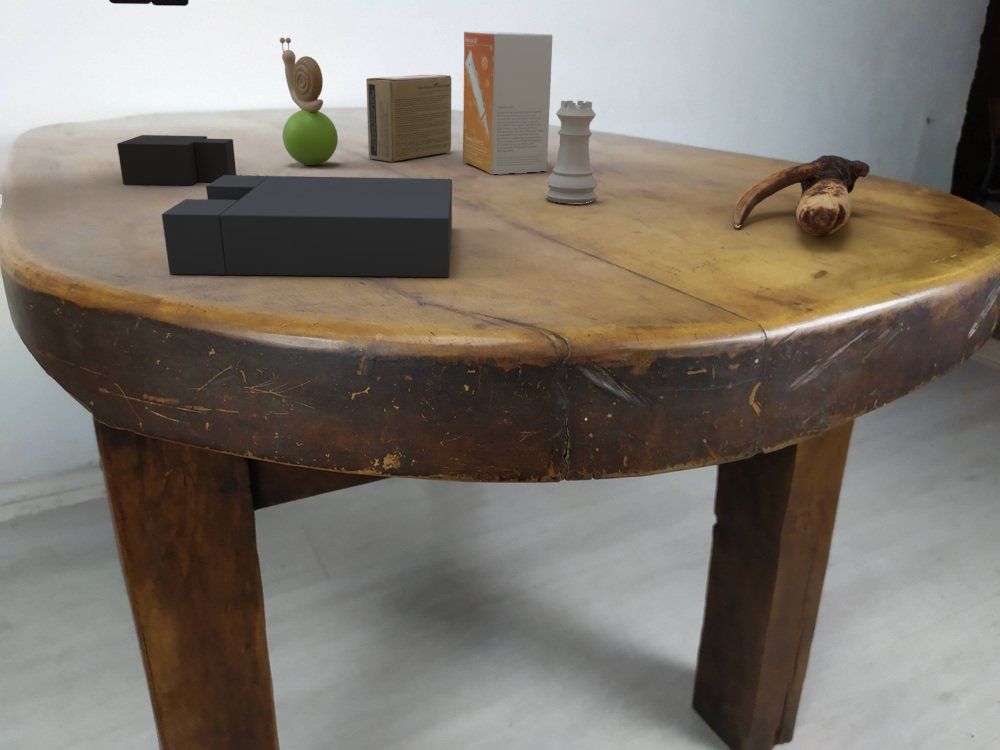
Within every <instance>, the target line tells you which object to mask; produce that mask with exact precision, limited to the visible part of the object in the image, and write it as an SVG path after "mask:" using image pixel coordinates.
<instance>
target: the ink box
mask: <svg viewBox="0 0 1000 750" xmlns="http://www.w3.org/2000/svg"><path fill="white" fill-rule="evenodd" d="M365 81H366V110H367V142H368V143H367V145H368V158H369V159H371V160H376V161H383V162H388V163H394V162H398V161H405V160H411V159H416V158H421V157H427V156H433V155H439V154H445V153H447V154H448V153H450V152H451V149H452V77H451V75H450V74H449V75H447V74H416V75H398V76H384V77H383V76H381V77H367V78H366V79H365Z"/></svg>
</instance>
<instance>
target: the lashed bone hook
mask: <svg viewBox="0 0 1000 750" xmlns="http://www.w3.org/2000/svg"><path fill="white" fill-rule="evenodd" d="M870 168H871V167H870V166H869V164H868V163H867V162H864V161H861V160H858V159H857V160H850V159H847V158H844V157H842V156H839V155H833V154H832V155H831V154H830V155H826V154H825V155H821V156H820V157H817V158H816V159H814V160H812V161H811V162H806V163H801V164H800V165H796V166H790V167H788V168H786V169H782V170H779V171H776V172H774V173H771V174H770V175H768V176H766V177H764V178H762V179H761V180H759V181H758V182H756V183H754V184H753V185H752V186H750V187H749V188H747V190H745V192H743V193H742V195H741V196H740V197H739V198H738V199H737V202H736V203H735V205H734V209H733V211H732V221H733V225H734V224H735V225H737V226H739V225H742V224H743V225H744V223H745V222H746V221H747V218H748V217H749V216H750V214H751V212H752V211H753V210H754V209H755V207H756V206H758V205H759V204H760V203H761V202H763V201H764V200H766V199H767V198H769V197H771V196H773V195H774V194H776V193H778V192H780V191H782V190H784V189H786V188H788V187H791V186H794V185H797V184H800V187H801V195H800V198H799V200H798V202H797V205H796V206H795V209H794V213H795V219H796V220H797V222H798V224H799V226H800V227H801V228H802V230H803V231H804V232H806V233H807V234H809V235H812V236H813V235H814V236H817V237H827V236H830V235H831V234H833V233H835V232H836V231H837V230H839V229H841V228H842V227H843V226H844V225H846V224H847V223H848V222H849V219H850V216H851V213H852V205H853V204H852V199H851V196H850V194H851V193H852V191H853V190H854V188H855V185H856V183H857V180H858V179H859V178H861V177H862V178H866V176H868V175H869V173H870ZM743 225H742V226H743Z"/></svg>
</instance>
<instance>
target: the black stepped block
mask: <svg viewBox="0 0 1000 750" xmlns="http://www.w3.org/2000/svg"><path fill="white" fill-rule="evenodd" d="M116 145H117V146H116V147H117V152H118V159H119V165H120V172H121V179H122V185H134V186H135V185H140V186H143V185H145V186H146V185H148V186H193V185H195V184H197V183H212V182H214V181H215V180H217V179H218V178H220V177H222V176H223V175H237V167H236V157H235V146H234V139H233V138H208V136H206V135H168V134H167V135H163V134H158V135H157V134H141V135H137V136H135V137H132V138H129V139H126V140H124V141H121V142H117V144H116Z"/></svg>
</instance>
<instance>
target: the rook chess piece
mask: <svg viewBox="0 0 1000 750" xmlns="http://www.w3.org/2000/svg"><path fill="white" fill-rule="evenodd" d="M555 114H556V116H557V118H558V120H559V121H560V129H559V130H558V131H557V133H558V135H559V147H558V150H557V151H558V152H557V157H556V158H557V159H556V162H555V165H554V168H552V173H551V174H550V175H549V176H548V177H547V180H546V185H547V187H548V188H549V189H548V190H547V191H546V192H545V193H544V194H545V196H546V197H547V199H548V201H550V200H551V201H550V202H552V201H553V202H552V203H555V202H560V203H586V202H590V201H593V200H594V201H595V200H596V199H597V197H598V194H597V193H596V192H595V191H594V190H595V189H596V188H597V187H598V180H597V179H596V178H595V177H594V175H593V173H594V171H593V170H592V166H591V159H590V147H589V145H590V137H591V136H592V135H593V133H592V132H591V130H590V129H591V128H590V125H591V123H592V122H593V120H594V118H595V117H596V116H597V115H596V113H595V111H594V109H593V102H592V101H589V100H588V101H587V100H586V101H585V102H584V100H577V103H576V102H574V100H571V99H570V100H561V101H560V107H559V108H558V110H557V112H555ZM594 201H593V202H594ZM560 203H559V204H560Z"/></svg>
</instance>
